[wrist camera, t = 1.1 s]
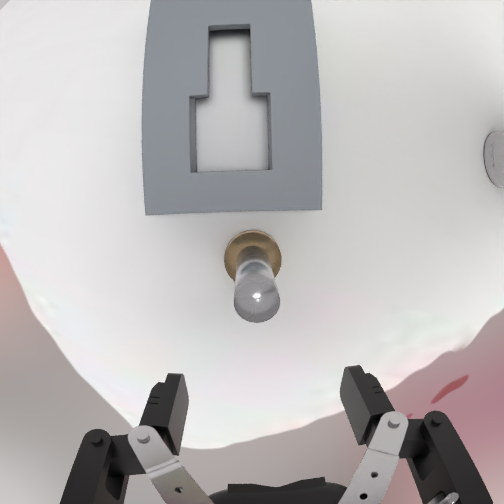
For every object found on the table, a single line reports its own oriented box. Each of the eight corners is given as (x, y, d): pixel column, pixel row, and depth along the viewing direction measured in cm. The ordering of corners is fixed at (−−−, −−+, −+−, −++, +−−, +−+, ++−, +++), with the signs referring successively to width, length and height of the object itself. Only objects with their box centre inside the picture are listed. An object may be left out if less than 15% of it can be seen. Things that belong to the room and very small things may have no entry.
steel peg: (280, 229, 33) (299, 262, 21) (279, 281, 35) (295, 334, 23) (224, 231, 33) (213, 264, 21) (226, 283, 34) (218, 337, 23)
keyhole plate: (303, 8, 25) (309, -8, 21) (312, 205, 32) (321, 210, 28) (159, 14, 24) (151, -1, 21) (156, 209, 32) (145, 215, 28)
